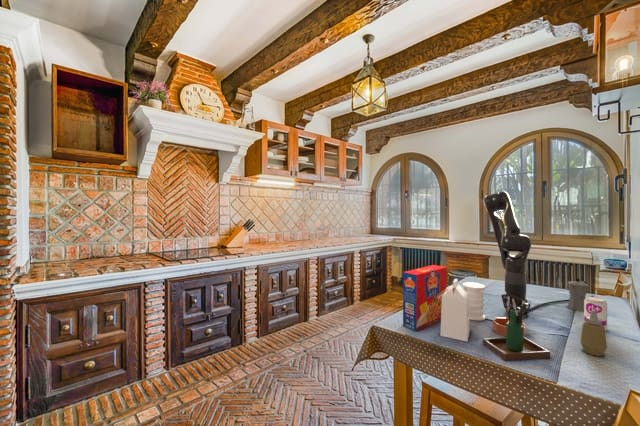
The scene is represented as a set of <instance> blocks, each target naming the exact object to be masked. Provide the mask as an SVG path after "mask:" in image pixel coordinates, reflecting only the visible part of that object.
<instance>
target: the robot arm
mask: <svg viewBox="0 0 640 426" xmlns="http://www.w3.org/2000/svg"><path fill="white" fill-rule="evenodd" d="M483 203H484V207H485V209H486V212H487V214H488V218H489V219H490V222H491V227H492V231H493V235H494V237H495V241H496V243H497V246H498V249H499V254H500V258H501V263H502V267H503V269H504V271H505V273H504V292H505V293H502V294H501V295H500V296H501V300H502V305H503V308H504V310H505V315H506V316H507V318H508V319H509V320H510V310H511V309H515V312H516V324H522V323H523V319H526V318H528V313H529V312H531V311H532V310H534V309H536V308H538V307H541V306H545V305H549V304H555V303H556V304H557V303H563V302H569V299H561V300H560V299H559V300H553V301H548V302H547V301H546V302H544V303H543V302H542V303H540V304H537V305H534V306H533V307H531V303H530V302H528V299H527V277H528V276H527V275H528V257H529V253H530V251H531V247H532V240H531V238H530V237H529V236H528V235H526V234H521V229H520V226H519V224H518V221H517V219H516V217H515V212H514V207H513V205H512V201H511V198H510V195H509V193H508V192H507V191H498V192H494V193H491V194H488V195H485V196H484V197H483ZM500 211H501V212H502V211H503V212H502V213H501V215H500V216H499V215H498V214H497V213H498V212H500ZM496 212H497V213H496ZM510 252H514V253H515V252H517V254H516V255H512V254H510ZM586 297H587V296H585V298H586ZM588 297H595V296H594V295H590V296H588ZM518 310H519V311H520V313H519V311H518Z"/></svg>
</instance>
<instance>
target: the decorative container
mask: <svg viewBox="0 0 640 426" xmlns="http://www.w3.org/2000/svg"><path fill="white" fill-rule="evenodd" d="M462 288H463V290H465V291H466V293H467V294H468V301H469V320H471V321H484V320H486V315H485V314H484V313H485V310H484V307H485V304H484V300H485V298H484V295H485V291H484V290H485V289H486V286H485V285H484V284H483V283H478V282H472V281H471V282H470V281H469V282H467V281H466V282H463V283H462Z"/></svg>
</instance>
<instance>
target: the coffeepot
mask: <svg viewBox="0 0 640 426" xmlns="http://www.w3.org/2000/svg"><path fill="white" fill-rule="evenodd" d="M567 286H568V291H569V299H568V300H569V301H568V302H567V308H568V309H570V310H573V311H576V312H577V311H578V312H584V300H585V297H587V291H588V287H589V284H588V283H587V281H586V280H583V281H580V278H576V279H575V281H574V280H573V281H567Z"/></svg>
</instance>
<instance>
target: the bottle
mask: <svg viewBox="0 0 640 426" xmlns="http://www.w3.org/2000/svg"><path fill="white" fill-rule="evenodd" d="M518 311H519V310H518ZM519 313H520V311H519ZM523 329H524V326H523V325H522V324H516V312H515V309H511V310H510V320H509V321H508V322H507V323H506V336H505V337H506V347H507V348H509V349H511V350H514V351H523Z"/></svg>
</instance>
